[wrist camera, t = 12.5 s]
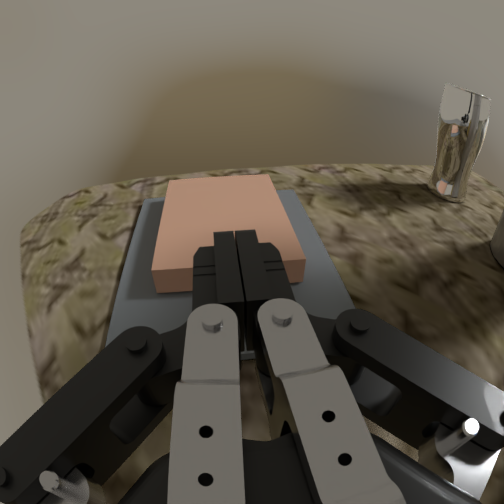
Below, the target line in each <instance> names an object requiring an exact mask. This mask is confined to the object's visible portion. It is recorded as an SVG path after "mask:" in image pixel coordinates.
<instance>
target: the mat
mask: <svg viewBox="0 0 504 504" xmlns="http://www.w3.org/2000/svg"><path fill="white" fill-rule="evenodd" d="M276 192H277V194H278V196H279V199H280V201H281V203H282V205H283V207H284V210H285V212H286V214H287V216H288V218H289V221H290V223H291V225H292V227H293V230H294V232H295V234H296V237H297V239H298V241H299V243H300V246H301V248H302V250H303V253H304V255H305V257H306V264H305V271H304V277H303V282H295V283H290V285H291V288H292V291H293V294H294V297H295V300H296V302H297V303H299V304H300V305H301V306H302V307H303V308H304V310H305V311H306V312H307V313H308V314H311V315H313V316H316V317H322V318H329V319H337V317H338V316H339V314H340V313H342V312H343V311H345V310H348V309H356V308H355V306H354V304H353V302H352V300H351V298H350V296H349V294H348V292H347V290H346V288H345V286H344V284H343V282H342V280H341V278H340V276H339V274H338V272H337V270H336V268H335V266H334V264H333V262H332V260H331V258H330V256H329V254H328V252H327V250H326V249H325V247H324V245H323V243H322V241H321V239H320V237H319V235H318V233H317V232H316V230H315V228H314V226H313V224H312V222H311V221H310V219H309V217H308V215H307V213H306V211H305V210H304V208H303V206H302V204H301V202H300V201H299V199H298V197H297V195H296V194H295V192H294V190H276ZM165 198H166V197H162V198H152V199H144V202H143V205H142V208H141V211H140V215H139V218H138V221H137V224H136V227H135V230H134V234H133V237H132V240H131V244H130V247H129V251H128V254H127V258H126V261H125V265H124V268H123V272H122V276H121V280H120V284H119V287H118V291H117V296H116V300H115V304H114V308H113V312H112V317H111V321H110V326H109V331H108V335H107V340H106V345H105V347H106V346H107V345H108V344H110V343H111V342H112V341H113V340H114V339H115V338H116V337H117V336H118V335H119V334H121V333H122V332H123V331H125V330H127V329H129V328H131V327H135V326H146V327H150V328H152V329H154V330H155V331H157V332H158V333H159V334H162V333H165V332H168V331H171V330H174V329H176V328H178V327H180V326H181V325H183V324H184V323H185V322H186V321H187V320H188V317H189V315H190V314H191V313H192V291H183V292H168V293H157V292H156V288H155V284H154V280H153V275H152V271H151V269H152V263H153V258H154V252H155V247H156V241H157V236H158V231H159V226H160V221H161V216H162V212H163V207H164V202H165ZM245 359H255V353H254V350H253V351H247V350H246V343H245V351H244V352H241V360H245Z"/></svg>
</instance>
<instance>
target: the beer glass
mask: <svg viewBox="0 0 504 504" xmlns="http://www.w3.org/2000/svg"><path fill="white" fill-rule="evenodd" d="M490 103H491V98H489V97H487V96H484V95H482V94H479V93H476V92H474V91H471V90H468V89H465V88H462V87H459V86H456V85H452V84H449V83H445V88H444V92H443V96H442V101H441V106H440V111H439V118H438V130H437V155H436V161H435V166H434V169H433V171H432V174H431V176H430V178H429V180H428V183H427V188H428V189H429V190H430V191H431V192H432V193H433V194H435V195H436V196H438V197H440V198H442V199H444V200H447V201H450V202H455V203H462V202H464V201H465V198H466V192H467V184H468V179H469V176H470V173H471V170H472V168H473V165H474V163H475V161H476V159H477V157H478V154H479V152H480V150H481V147H482V145H483V142H484V139H485V135H486V132H487V127H488V122H489V113H490Z"/></svg>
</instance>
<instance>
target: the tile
mask: <svg viewBox="0 0 504 504" xmlns="http://www.w3.org/2000/svg"><path fill="white" fill-rule="evenodd" d="M252 229H255V230H256V234H257V238H258V242H259V243H266V242H271V243H272V244H273V245H274V246H275V247H276V248H277V249H278V250H279V252H280V255H281V258H282V262H283V264H284V267H285V270H286V273H287V276H288V279H289V282H290V283H295V282H303V277H304V271H305V264H306V257H305V255H304V253H303V250H302V248H301V246H300V243H299V241H298V239H297V237H296V234H295V232H294V230H293V227H292V225H291V223H290V221H289V218H288V216H287V214H286V212H285V210H284V207H283V205H282V203H281V201H280V199H279V196H278V194H277V192H276V190H275V188H274V186H273V183H272V181H271V179H270V177H269V175H268V174H267V175H242V176H223V177H207V178H193V179H180V180H169V184H168V189H167V193H166V198H165V202H164V207H163V212H162V216H161V221H160V226H159V231H158V236H157V241H156V247H155V252H154V258H153V263H152V269H151V271H152V275H153V280H154V284H155V288H156V292H157V293H168V292H183V291H192V289H193V256H194V254H195V253H196V251H197V250H198V248H199V247H205V246H214V236H213V232H221V231H233V232H234V238H235V231H236V230H252Z"/></svg>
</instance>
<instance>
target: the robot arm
mask: <svg viewBox="0 0 504 504" xmlns="http://www.w3.org/2000/svg"><path fill="white" fill-rule="evenodd" d="M213 236H214V246H205V247H199V248H198V250H197V251H196V253H195V254H194V256H193V289H192V313H191V314H190V315H189V317H188V320H187V321H186V322H185V323H184V324H183V325H181V326H180V327H178V328H176V329H174V330H171V331H168V332H165V333H162V334H159V333H158V332H157V331H155V330H154V329H152V328H150V327H146V326H135V327H131V328H129V329H127V330H125V331H123V332H122V333H121V334H119V335H118V336H117V337H116V338H115V339H114V340H113V341H112V342H111V343H110V344H108V345H107V346H106V347H105V348H104V349H103V350H102V351H101V352H100V353H99V354H97V355H96V356H95V357H94V358H93V359H92V360H91V361H90V362H89V363H88V364H87V365H85V366H84V367H83V368H82V369H81V370H80V371H79V372H78V373H77V374H76V375H75V376H74V377H73V378H71V379H70V380H69V381H68V382H67V383H66V384H65V385H64V386H63V387H62V388H61V389H60V390H59V391H58V392H56V393H55V394H54V395H53V396H52V397H51V398H50V399H49V400H48V401H47V402H46V403H45V404H44V405H43V406H42V407H41V408H40V409H39V410H37V412H35V413H34V414H33V415H32V416H31V417H30V418H29V419H28V420H27V421H26V422H25V423H24V424H23V425H22V426H21V427H20V428H19V429H18V430H17V431H16V432H15V433H14V434H13V435H12V436H11V437H10V438H9V439H7V440H6V441H5V442H4V443H3V444H2V445H1V446H0V502H2V503H4V504H105V503H106V499H105V494H104V491H103V489H102V487H101V486H102V485H103V484H104V483H105V482H106V481H107V480H108V479H109V477H110V476H111V475H112V474H113V473H114V472H115V471H116V470H117V469H118V468H119V467H120V466H121V465H122V464H123V463H124V462H125V460H126V459H127V458H128V457H129V456H130V455H131V454H132V453H133V452H134V451H135V450H136V449H137V447H138V446H139V445H140V444H141V443H142V442H143V441H144V440H145V439H146V438H147V436H148V435H149V434H150V433H151V432H152V431H153V430H154V429H155V428H156V426H157V425H158V424H159V423H160V422H161V421H162V420H163V419H164V418H165V416H166V415H167V414H168V413H169V412H170V411H171V410H172V408H173V416H172V429H171V442H170V453H168V454H166V455H164V456H162V457H161V458H159V459H158V460H156V461H155V462H154V463H153V464H152V465H150V466H149V467H148V468H147V469H146V471H145V472H144V473H143V474H142V475H141V477H140V478H139V479H138V480H137V481H136V483H135V484H134V485H133V486H132V487H131V488H130V490H129V491H128V492H127V493H126V494H125V495H124V497H123V498H122V499H121V500H120V501H119V502H118V504H481V502H480V501H479V499H480V497H481V495H482V493H483V491H484V488H485V486H486V484H487V482H488V479H489V477H490V474H491V472H492V470H493V467H494V464H495V462H496V459H497V457H498V454H499V451H500V450H501V448H503V447H504V392H503V391H502V390H500V389H498V388H497V387H495V386H493V385H492V384H490V383H488V382H487V381H485V380H483V379H482V378H480V377H478V376H476V375H475V374H473V373H471V372H470V371H468V370H466V369H465V368H463V367H461V366H460V365H458V364H456V363H455V362H453V361H451V360H450V359H448V358H446V357H444V356H443V355H441V354H439V353H438V352H436V351H434V350H433V349H431V348H429V347H428V346H426V345H424V344H423V343H421V342H419V341H417V340H416V339H414V338H412V337H411V336H409V335H407V334H406V333H404V332H402V331H400V330H399V329H397V328H395V327H394V326H392V325H390V324H389V323H387V322H385V321H383V320H382V319H380V318H378V317H377V316H375V315H373V314H371V313H370V312H368V311H365V310H362V309H348V310H345V311H343V312H342V313H340V314H339V316H338V317H337V319H329V318H322V317H316V316H313V315H311V314H308V313H307V312H306V311H305V310H304V308H303V307H302V306H301V305H300V304H299V303H297V302H296V300H295V297H294V294H293V291H292V288H291V285H290V282H289V279H288V276H287V273H286V270H285V267H284V264H283V262H282V258H281V255H280V252H279V250H278V249H277V248H276V247H275V246H274V245H273V244H272V243H271V242H266V243H259V242H258V238H257V234H256V230H255V229H252V230H236V231H235V238H234V232H233V231H221V232H213ZM490 247H491V251H492V253H493V255H494V257H495V258H496V259H497V261H498V262H499V263H500V264H501V266H502V267H503V268H504V210H503V212H502V215H501V218H500V220H499V223H498V225H497V228H496V230H495V233H494V235H493V238H492V240H491V242H490ZM245 343H246V350H247V351H253V350H254V353H255V359H256V367H255V370H256V375H257V379H258V382H259V386H260V390H261V394H262V398H263V401H264V405H265V409H266V412H267V416H268V421H269V428H270V436H271V441H255V440H247V439H242V427H241V403H240V378H239V372H240V370H241V352H244V351H245ZM362 415H363V416H365V417H366V418H368V419H369V420H371V421H372V422H374V423H375V424H377V425H379V426H380V427H382V428H383V429H385V430H386V431H388V432H390V433H391V434H393V435H394V436H396V437H398V438H399V439H401V440H402V441H404V442H406V443H407V444H409V445H411V446H412V447H414V448H416V449H417V450H418V457H419V459H418V462H416V461H415V460H413V459H412V458H410V457H409V456H407V455H406V454H404V453H403V452H401V451H400V450H398V449H397V448H395V447H394V446H392V445H391V444H389V443H388V442H386V441H385V440H383V439H382V438H380V437H378V436H376V435H374V434H372V433H370V432H369V430H368V428H367V425H366V423H365V421H364V419H363V416H362Z"/></svg>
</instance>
